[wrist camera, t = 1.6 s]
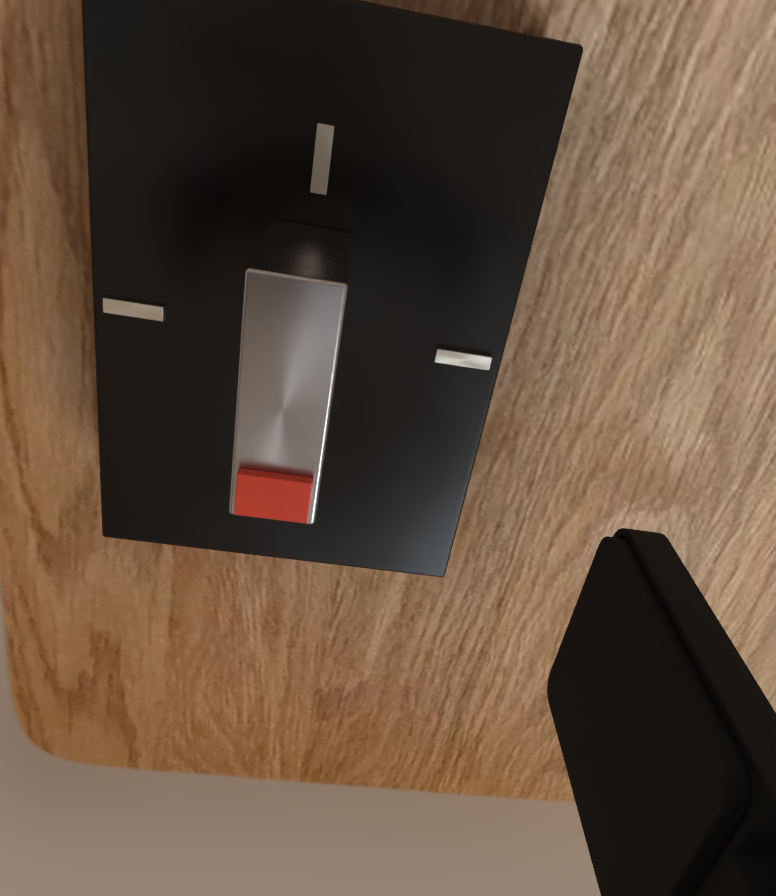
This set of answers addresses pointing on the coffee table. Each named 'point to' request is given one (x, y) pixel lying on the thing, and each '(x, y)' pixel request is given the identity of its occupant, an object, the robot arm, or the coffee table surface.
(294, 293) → the hob knob
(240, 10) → the black square plate
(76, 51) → the coffee table surface
